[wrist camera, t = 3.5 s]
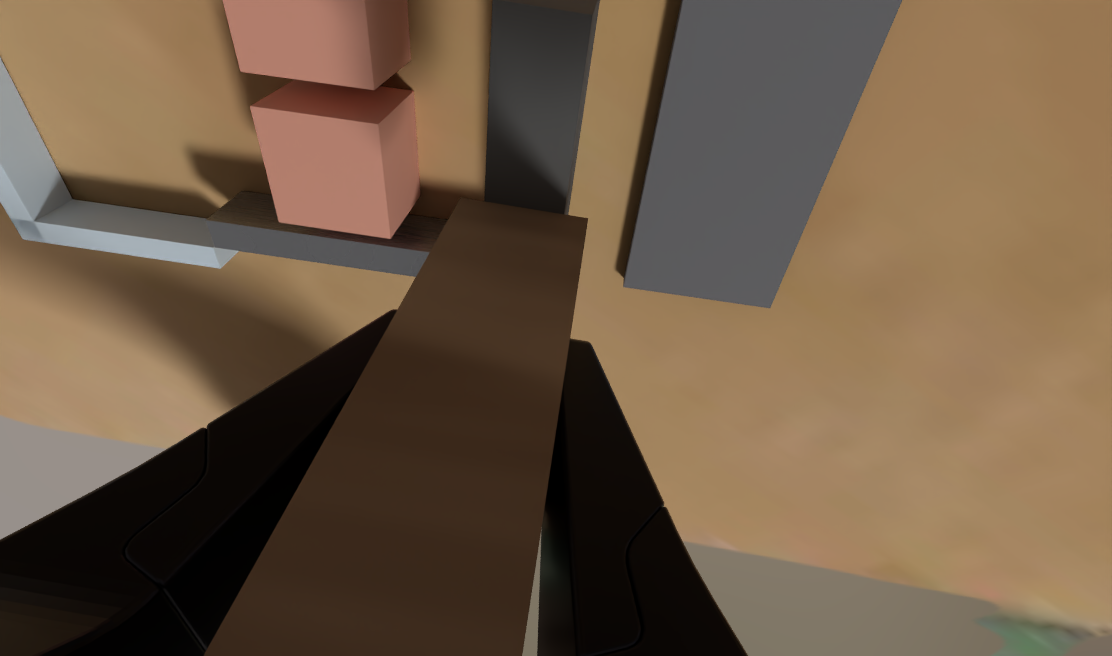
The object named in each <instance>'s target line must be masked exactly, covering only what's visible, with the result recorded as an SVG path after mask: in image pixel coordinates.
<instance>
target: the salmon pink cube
mask: <svg viewBox="0 0 1112 656" xmlns="http://www.w3.org/2000/svg"><path fill="white" fill-rule="evenodd" d="M250 109H251V113H252V117H253V121H254V125H255V129H256V133H257V137H258V141H259V145H260V149H261V153H262V157H263V161H264V165H265V169H266V173H267V177H268V181H269V185H270V189H271V193H272V197H273V201H274V205H275V209H276V213H277V217H278V221H279V222H280V223H287V224H294V225H301V226H307V227H314V228H321V229H327V230H334V231H341V232H347V233H354V234H361V235H368V236H374V237H381V238H388V239H391V238H392V236H393V235H394V233H395V232H396V230H397V229H398V227H399V226H400V225H401V223H402V222H403V220H404V219H405V217H406V216H407V214H408V213H409V212H410V210H411V209H412V207H413V206H414V204H415V203H416V201H417V200H418V199H419V197H420V196H421V194H420V179H419V163H418V148H417V133H416V117H415V102H414V91H412V90H404V89H397V88H390V87H383V86H379V87H378V88H376V89H375V90H369V89H362V88H355V87H347V86H340V85H333V84H326V83H319V82H311V81H304V80H297V79H295V80H293V81H291V82H290V83H288V84H286V85H285V86H283V87H281V88H280V89H278V90H276V91H274V92H273V93H271V94H269V95H268V96H266V97H264V98H263V99H261V100H259V101H258V102H256V103H254V104H252V105H251V106H250Z"/></svg>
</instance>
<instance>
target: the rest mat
mask: <svg viewBox="0 0 1112 656" xmlns="http://www.w3.org/2000/svg"><path fill="white" fill-rule="evenodd" d="M901 2H902V0H681V4H680V9H679V13H678V18H677V23H676V28H675V33H674V38H673V43H672V47H671V52H670V57H669V62H668V67H667V72H666V76H665V81H664V86H663V91H662V96H661V101H660V106H659V110H658V115H657V120H656V125H655V130H654V135H653V139H652V144H651V149H650V154H649V159H648V164H647V168H646V173H645V178H644V183H643V188H642V193H641V198H640V202H639V207H638V212H637V217H636V222H635V227H634V231H633V236H632V241H631V246H630V251H629V256H628V261H627V265H626V270H625V275H624V284H623V287H627V288H634V289H641V290H648V291H655V292H662V293H668V294H675V295H682V296H689V297H696V298H703V299H710V300H717V301H724V302H731V303H737V304H744V305H751V306H758V307H765V308H770V307H771V305H772V302H773V300H774V298H775V295H776V293H777V291H778V288H779V286H780V284H781V281H782V279H783V277H784V274H785V272H786V270H787V268H788V265H789V263H790V261H791V258H792V256H793V254H794V251H795V249H796V247H797V244H798V242H799V240H800V237H801V235H802V233H803V230H804V228H805V226H806V223H807V221H808V219H809V216H810V214H811V212H812V209H813V207H814V205H815V202H816V200H817V198H818V195H819V193H820V191H821V188H822V186H823V184H824V181H825V179H826V177H827V174H828V172H829V170H830V167H831V165H832V163H833V160H834V158H835V156H836V153H837V151H838V149H839V146H840V144H841V142H842V139H843V137H844V135H845V132H846V130H847V128H848V125H849V123H850V121H851V118H852V116H853V114H854V111H855V109H856V107H857V104H858V102H859V100H860V97H861V95H862V93H863V90H864V88H865V86H866V83H867V81H868V79H869V76H870V74H871V72H872V69H873V67H874V65H875V62H876V60H877V58H878V55H879V53H880V51H881V48H882V46H883V44H884V41H885V39H886V37H887V34H888V32H889V30H890V27H891V25H892V23H893V21H894V18H895V16H896V14H897V11H898V9H899V7H900V4H901Z"/></svg>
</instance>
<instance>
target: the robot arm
mask: <svg viewBox="0 0 1112 656" xmlns="http://www.w3.org/2000/svg"><path fill="white" fill-rule="evenodd" d="M396 312H397V309H396V310H395V309H394V310H391V311H389V312H387V313H385V314H384V315H382V316H381V317H379V318H377V319H376V320H374V321H373V322H371V323H369V324H368V325H366V326H365V327H363V328H361V329H360V330H358V331H356V332H355V333H353V334H352V335H350V336H348V337H347V338H345V339H344V340H342V341H340V342H339V343H337V344H336V345H334V346H332V347H331V348H329V349H328V350H326V351H324V352H323V353H321V354H320V355H318V356H316V357H315V358H313V359H312V360H310V361H308V362H307V363H305V364H304V365H302V366H300V367H299V368H297V369H296V370H294V371H292V372H291V373H289V374H287V375H286V376H284V377H283V378H281V379H279V380H278V381H276V382H275V383H273V384H271V385H270V386H268V387H267V388H265V389H263V390H262V391H260V392H259V393H257V394H255V395H254V396H252V397H251V398H249V399H247V400H246V401H244V402H243V403H241V404H239V405H238V406H236V407H235V408H233V409H231V410H230V411H228V412H226V413H225V414H223V415H222V416H220V417H218V418H217V419H215V420H214V421H212V422H210V423H209V424H208V425H207V429H206V428H200V429H199V430H197V431H196V432H194V433H192V434H191V435H189V436H188V437H186V438H184V439H183V440H181V441H180V442H178V443H176V444H175V445H173V446H171V447H170V448H168V449H166V450H165V451H163V452H161V453H160V454H158V455H156V456H154V457H153V458H151V459H149V460H148V461H146V462H144V463H143V464H141V465H139V466H138V467H136V468H134V469H132V470H130V471H129V472H127V473H125V474H123V475H121V476H119V477H118V478H116V479H114V480H112V481H110V482H108V483H107V484H105V485H103V486H101V487H99V488H97V489H96V490H94V491H92V492H90V493H88V494H86V495H85V496H83V497H81V498H79V499H77V500H75V501H73V502H71V503H69V504H67V505H65V506H64V507H62V508H60V509H58V510H56V511H54V512H52V513H50V514H48V515H46V516H45V517H43V518H41V519H39V520H37V521H35V522H33V523H31V524H29V525H28V526H25V527H24V528H22V529H20V530H18V531H16V532H14V533H12V534H10V535H8V536H6V537H5V538H3V539H1V540H0V656H204V654H205V652H206V650H207V649H208V647H209V645H210V643H211V641H212V640H213V638H214V636H215V634H216V633H217V631H218V629H219V627H220V625H221V624H222V622H223V620H224V618H225V616H226V615H227V613H228V611H229V609H230V608H231V606H232V604H233V602H234V600H235V599H236V597H237V595H238V593H239V592H240V590H241V588H242V586H243V584H244V583H245V581H246V579H247V577H248V576H249V574H250V572H251V570H252V568H253V567H254V565H255V563H256V561H257V559H258V558H259V556H260V554H261V552H262V551H263V549H264V547H265V545H266V543H267V542H268V540H269V538H270V536H271V535H272V533H273V531H274V529H275V527H276V526H277V524H278V522H279V520H280V518H281V517H282V515H283V513H284V511H285V510H286V508H287V506H288V504H289V502H290V501H291V499H292V497H293V495H294V494H295V492H296V490H297V488H298V486H299V485H300V483H301V481H302V479H303V477H304V476H305V474H306V472H307V470H308V469H309V467H310V465H311V463H312V461H313V460H314V458H315V456H316V454H317V453H318V451H319V449H320V447H321V445H322V444H323V442H324V440H325V438H326V437H327V435H328V433H329V431H330V429H331V428H332V426H333V424H334V422H335V420H336V419H337V417H338V415H339V413H340V412H341V410H342V408H343V406H344V404H345V403H346V401H347V399H348V397H349V396H350V394H351V392H352V390H353V388H354V387H355V385H356V383H357V381H358V379H359V378H360V376H361V374H362V372H363V371H364V369H365V367H366V365H367V363H368V362H369V360H370V358H371V356H372V355H373V353H374V351H375V349H376V347H377V346H378V344H379V342H380V340H381V338H382V337H383V335H384V333H385V331H386V330H387V328H388V326H389V324H390V322H391V321H392V319H393V317H394V315H395V314H396ZM663 506H664V501H663V499H662V497H661V495H660V493H659V490H658V488H657V486H656V484H655V482H654V480H653V477H652V475H651V473H650V471H649V469H648V466H647V464H646V462H645V460H644V458H643V456H642V453H641V451H640V449H639V447H638V445H637V443H636V440H635V438H634V436H633V434H632V432H631V429H630V427H629V425H628V423H627V421H626V419H625V416H624V414H623V412H622V410H621V408H620V405H619V403H618V401H617V399H616V397H615V395H614V392H613V390H612V388H611V386H610V384H609V382H608V379H607V377H606V375H605V373H604V371H603V368H602V366H601V364H600V362H599V360H598V358H597V355H596V353H595V351H594V349H593V347H592V345H591V343H589V342H587V341H582V340H576V339H570V341H569V348H568V355H567V361H566V368H565V375H564V381H563V388H562V394H561V401H560V408H559V414H558V421H557V428H556V434H555V441H554V447H553V454H552V461H551V467H550V474H549V480H548V487H547V494H546V500H545V507H544V514H543V520H542V531H541V562H540V590H539V591H540V592H539V620H538V651H537V656H748V655H747V653H746V651H745V650H744V648H743V646H742V645H741V643H740V641H739V640H738V638H737V637H736V635H735V633H734V632H733V630H732V628H731V627H730V625H729V623H728V622H727V620H726V618H725V617H724V615H723V613H722V612H721V610H720V609H719V607H718V605H717V604H716V602H715V600H714V598H713V597H712V595H711V593H710V591H709V590H708V588H707V586H706V584H705V583H704V581H703V579H702V577H701V576H700V574H699V572H698V570H697V569H696V567H695V565H694V563H693V561H692V559H691V557H690V555H689V553H688V551H687V549H686V547H685V546H684V543H683V541H682V539H681V537H680V535H679V533H678V531H677V529H676V527H675V525H674V523H673V520H672V518H671V516H670V514H669V512H668V509H667V508H666V507H663Z"/></svg>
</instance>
